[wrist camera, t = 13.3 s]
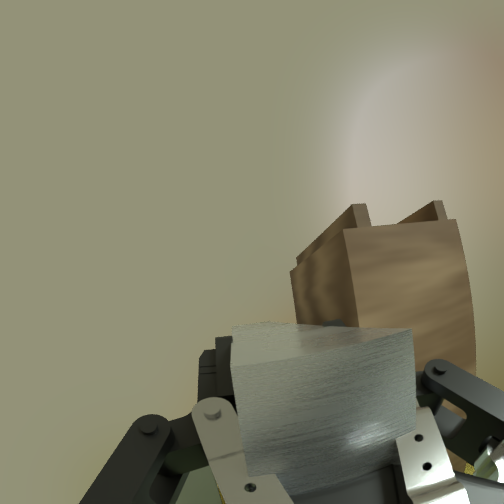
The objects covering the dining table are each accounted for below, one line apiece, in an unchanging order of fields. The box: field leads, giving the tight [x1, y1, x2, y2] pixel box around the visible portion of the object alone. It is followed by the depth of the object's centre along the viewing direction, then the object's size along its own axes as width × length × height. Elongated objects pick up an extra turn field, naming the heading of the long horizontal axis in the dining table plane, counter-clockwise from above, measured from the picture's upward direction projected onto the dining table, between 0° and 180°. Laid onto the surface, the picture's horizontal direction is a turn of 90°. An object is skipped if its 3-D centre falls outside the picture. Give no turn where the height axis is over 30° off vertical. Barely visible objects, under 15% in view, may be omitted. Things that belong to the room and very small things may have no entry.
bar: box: [230, 322, 416, 497], centre depth 17 cm, size 26×4×4 cm, turn 4°
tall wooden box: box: [290, 201, 476, 473], centre depth 21 cm, size 16×10×34 cm, turn 4°
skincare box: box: [176, 465, 222, 504], centre depth 22 cm, size 8×6×15 cm
